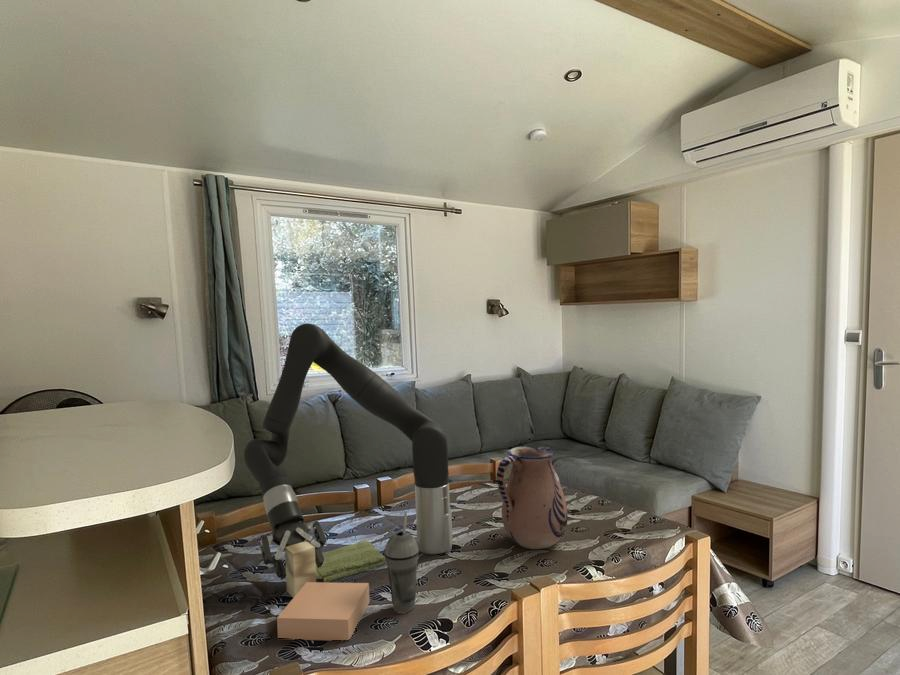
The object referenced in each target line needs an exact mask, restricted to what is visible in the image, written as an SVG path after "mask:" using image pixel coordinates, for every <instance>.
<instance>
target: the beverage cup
mask: <svg viewBox="0 0 900 675" xmlns="http://www.w3.org/2000/svg"><path fill="white" fill-rule="evenodd" d="M403 514H404V515H403V516H404V517H403V527H402V529H403V530H402V531H399V532H395V533H393V534H392V535H391V536H390V537H389V539H388V540H387V542H386V544H385V548H384V553H383V554H384V555H383V556H385V558H386V561H385V563H386V565H387V572H388V573H387V574H388V579H389V580H388V581H389V588H390V595H391V603H392V608H393V611H394V610H395V611H397V612H407V611H410V610H412V609H413V608H414V607H416V595H417V592H416V591H417V572H418V571H417V570H418V568H417V567H418V561H419V553H420V551H419V549H418V545H417V539H415V537H414V536H413V535H412V534H410V533H409V532H406V529H407V520H408V519H407V518H408V511H407V510H406V511H405V510H404V513H403ZM414 609H415V608H414ZM414 609H413V610H414ZM413 610H412V611H413ZM395 611H394V612H395ZM397 612H396V613H397Z"/></svg>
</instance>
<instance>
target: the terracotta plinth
mask: <svg viewBox="0 0 900 675" xmlns="http://www.w3.org/2000/svg"><path fill="white" fill-rule="evenodd" d="M369 604H370V583H369V582H324V581H323V582H318V581H316V582H306V583H305V585H304V586H303V587H302V588H301V590H300V591H299V592H298V593H297V594H296V596H295V597H294V598H293V597H292V599H291V600H290V601H289V603H288V604H287V605H286V606H285V608H284V609H283V610H282V611H281V612H280V614H279V615H278V616H277V617H276V625H277V628H276V629H277V639H278V638H289V639H288V640H295V639H302V640H303V639H304V640H305V641H329V642H330V641H332V640H342V641H341V642H344V641H343V640H349V639H350V640H351V638H352V636H353V634H354V633H355V630H356V629H355V628H357V627H358V625H357V624H359V623H358V622H360V621H361V619H362V617H363V615H364V613H365V612H366V609H367V608H368V606H369ZM359 620H360V621H359ZM356 626H357V627H356ZM350 637H351V638H350ZM290 638H291V639H290ZM302 640H301V641H302ZM350 640H349V641H350Z"/></svg>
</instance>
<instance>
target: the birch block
mask: <svg viewBox="0 0 900 675" xmlns="http://www.w3.org/2000/svg"><path fill="white" fill-rule="evenodd" d="M284 552H285V553H284V554H285V571H286V577H285V579H286V580H285V581H286V592H287V593H288V594H290V596H291V597H292V599H293V598H294V597H295V596H296V594H297V593H298V592H299V591H300V590H301V588H302V587H303V586H304V585H305V583H306V582H317V579H316V564H315V547H314V546H312V545H311V544H310V543H308V542H307V541H306V540H305V541H304V542H301V543H297V544H294V545H290V546H287V547H285V550H284Z"/></svg>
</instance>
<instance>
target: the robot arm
mask: <svg viewBox="0 0 900 675" xmlns="http://www.w3.org/2000/svg"><path fill="white" fill-rule="evenodd" d="M312 364H315V365H317V366H319V368H321V369H323V370H324V371H325V372H326V373H328V374H329V375H330V376H331V377H332V378H333V380H335V381H336V383H337V384H338V385H339V387H340V388H341V389H342V390H343V391H344V392H345V393H346V394H347V395H348V396H349V397H350V398H351V399H352V400H354V401H355V403H357V404H358V405H359V406H361V407H362V408H363V409H364V410H366V411H367V412H369V413H370V414H371V415H373V416H376V417H377V418H379V419H380V420H383V421H385V422H386V423H388V424H391V425H392V426H393V427H395V428H397V429H398V430H399V431H401V433H402V434H404V435H405V436H406V437H407V439H409V441H411V445H412V446H411V451H412V454H411V455H412V465H413V466H412V472H413V477H414V495H415V496H414V497H415V498H414V499H415V520H416V521H415V522H416V523H415V524H416V525H415V526H416V542H417V545H418V549H419V553H422V554H426V555H438V554H444V553H450V552H451V550H452V547H453V543H454V540H453V519H452V518H453V516H452V508H451V501H450V479H449V478H450V477H449V476H450V474H449V454H448V452H449V451H448V450H449V449H448V435H447V432H446V430H445V429H444V427H443V426H442V425H441V424H439V423H438V422H436V421H435V420H433V419H432V418H430V417H428V416H427V415H425V414H424V413H422V412H421V411H420V410H418V409H417V408H415V407H413V405H412V404H410V402H409V401H407V400H406V399H405V397H404V396H402V394H400V393H399V392H398V391H397V390H396V389H395V388H394V387H393V386H391V384H389V383H388V382H387V381H386V380H385V379H384V378H382V377H381V376H379V375H378V374H377V373H376V372H375V371H373V370H372V369H370V368H369V367H368V366H366V364H363V363H362V362H360V361H359V360H357V359H355V358H354V357H352V356H350V355H349V354H348V353H347V352H345V351H344V350H343V349H342V348H341V347H340V346H339V345H338V344H337V343H336V342H335V341H334V340H333V339H332V338H331V337H330V335H329V334H328V333H327V332H326V331H325V330H324V329H322V327H319V326H318V325H316V324H314V323H302V324H299V325H298V326H297V327H295V328H294V329H293V330H292V332H291V334H290V338H289V343H288V348H287V352H286V358H285V361H284V365H283V367H282V371H281V375H280V378H279V381H278V383H277V386H276V389H275V391H274V394H273V397H272V398H271V401H270V404H269V406H268V407H267V408H268V409H267V411H266V413H265V416H264V419H263V422H262V427H263V429H265V430H266V431H268V432H270V433H271V440H268V439H262V438H255V439H251V440H250V441H248V442H247V444H246V445H245V447H244V451H243V459H244V463H245V465H246V467H247V469H248V471H249V472H250V473H251V475H252V476H253V478H254V480H256V482H257V484H258V486H259V488H260V492H261V495H262V498H263V499H262V500H263V505H264V510H265V511H264V512H265V514H266V516H267V519H268V524H269V526H270V530H271V532H272V534H271V535H267V534H263V535H262V536H261V538H260V541H259V545H260V549H261V550H260V551H261V554H262V555H261V557H262V560H263V564H264V565H266V566H267V565H269V564H270V565H273V567H274V570H275V573H276V576H277V578H278V579H280V580H285V579H286V567H285V565H284V562H283V559H282V554H283V552H284V551H285V547H287V546H290V545H294V544H297V543H301V542H304V541H307V542H308V543H310V544H311V545H312V546H314V547H315V561H316V564H317V567H318V568H319V567H321V566H322V564H323V562H324V557H323V554H322V553H323V550H322V549H323V548H324V547H325V544H326V543H327V541H328V540H327V538H326V536H325V535H326V534H324V531H323V528H322V526H321V524H320V521H318V520H314V522H313V523H311V524H309V525H308V524H306V523H305V520H304V515H303V513H302V511H301V507H300V504H299V501H298V498H297V495H296V492H295V491H294V489H293V487H292V484H291V481H290V477H289V475H288V473H287V471H286V470H285V468H282V467H280V466H281V465H282V464H283V463H284V462H285V460H286V458H287V453H288V446H289V438H290V429H291V426H292V424H293V422H294V419H295V418H296V417H295V416H296V414H297V411H298V408H299V405H300V403H301V402H300V401H301V398H302V393H303V387H304V384H305V380H306V377H307V375H308V372H309V370H310V369H311V366H312ZM308 532H310V533H311V534H313V535H314V537H313V536H312V535H310V534H308ZM272 542H273V543H274V544H276V545H277V546H278V549H277V551H276V553H275V554H274V555H272V552H271V547H270V546H271V544H272Z"/></svg>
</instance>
